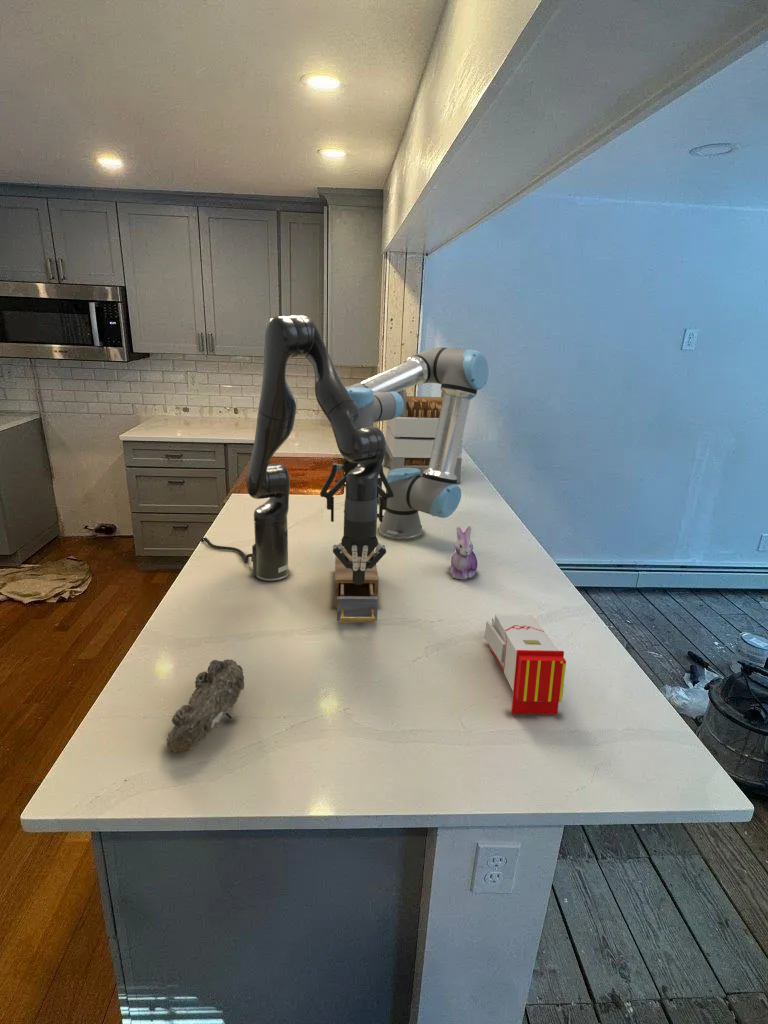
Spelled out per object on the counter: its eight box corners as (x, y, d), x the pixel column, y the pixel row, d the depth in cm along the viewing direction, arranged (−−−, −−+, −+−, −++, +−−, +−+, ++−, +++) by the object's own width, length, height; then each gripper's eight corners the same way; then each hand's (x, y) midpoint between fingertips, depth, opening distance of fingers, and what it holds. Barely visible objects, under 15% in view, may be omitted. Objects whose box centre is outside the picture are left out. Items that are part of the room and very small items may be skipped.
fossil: (192, 660, 117) (244, 628, 112) (224, 691, 120) (276, 661, 115) (142, 746, 98) (202, 712, 93) (182, 779, 101) (242, 748, 96)
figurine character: (382, 507, 229) (381, 492, 243) (383, 490, 226) (382, 475, 239) (365, 506, 229) (366, 491, 242) (366, 489, 226) (366, 475, 239)
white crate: (382, 463, 289) (386, 382, 275) (445, 464, 293) (451, 384, 279) (390, 482, 257) (394, 392, 243) (460, 483, 261) (468, 394, 247)
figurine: (459, 583, 165) (464, 535, 160) (440, 569, 174) (444, 523, 169) (486, 577, 169) (491, 531, 164) (466, 564, 178) (470, 519, 173)
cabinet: (377, 608, 150) (378, 580, 147) (334, 607, 149) (334, 579, 146) (372, 573, 170) (373, 547, 167) (335, 572, 169) (335, 547, 166)
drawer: (378, 632, 137) (379, 609, 135) (336, 632, 136) (336, 609, 134) (372, 584, 160) (373, 564, 158) (337, 584, 159) (337, 564, 157)
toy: (530, 600, 137) (574, 657, 108) (525, 651, 140) (567, 720, 111) (480, 599, 137) (511, 656, 107) (477, 651, 139) (506, 719, 110)
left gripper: (331, 520, 125) (330, 590, 131) (390, 521, 126) (387, 590, 132) (331, 509, 132) (330, 576, 138) (388, 509, 133) (384, 576, 139)
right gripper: (310, 449, 148) (311, 524, 155) (405, 450, 150) (401, 525, 157) (311, 442, 155) (312, 515, 162) (402, 444, 157) (399, 515, 164)
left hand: (358, 583), depth 135 cm, fingers closed
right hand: (356, 520), depth 160 cm, fingers open, 13 cm apart
